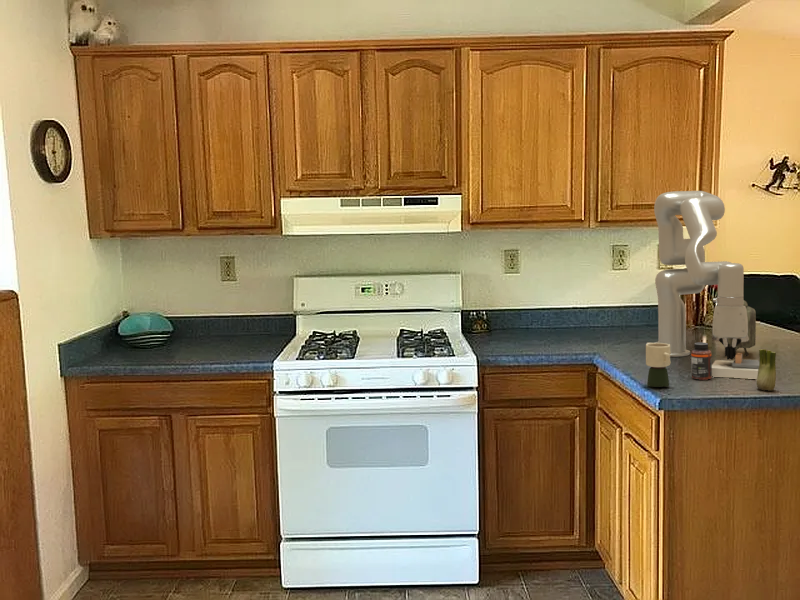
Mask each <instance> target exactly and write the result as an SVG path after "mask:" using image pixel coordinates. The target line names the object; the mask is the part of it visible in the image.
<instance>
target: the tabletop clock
mask: <svg viewBox="0 0 800 600" xmlns="http://www.w3.org/2000/svg"><path fill="white" fill-rule="evenodd" d="M743 306H745V307H746V311H747V318H748V338H749V340H748V341H746V342H740V343H739V344H738V345H737V346H736V352H737V351H738V349H743V350H744V352H743V353H744V354H743V355H744V356H745V357H749V355H750V353H749V352H748V351H747V349H750V348H753V347H755V346H756V344H757V343H756V342H757V341H756V338H757V336H756V334H757V333H756V331H757V329H756V328H757V325H756V324H757V321H756V319H757V316H756V314H757V313H756V310H755V308H753V307H751V306H749V305H748V302H747V301H746V300H744V299H743ZM738 339H739V338H738ZM728 341H729V344H730V346H731V345H732V341H733V338H728ZM733 359H735V357H734V358H733Z"/></svg>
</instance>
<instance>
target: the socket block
mask: <svg viewBox="0 0 800 600" xmlns="http://www.w3.org/2000/svg"><path fill="white" fill-rule="evenodd" d="M733 362H734V360H723V359H721V360H720V359H715V360H714V362H713V363H712V376H713V377H712V378H714V377H734V378H748V379H757V376H758V369H759V368H746V367H732V364H733Z"/></svg>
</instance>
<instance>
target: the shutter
mask: <svg viewBox="0 0 800 600" xmlns="http://www.w3.org/2000/svg"><path fill="white" fill-rule="evenodd" d="M733 361H734V362H733V364H732V367H746V368H759V360H757V359H743V352H736V355H735V358H734V360H733Z"/></svg>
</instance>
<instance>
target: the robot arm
mask: <svg viewBox="0 0 800 600" xmlns="http://www.w3.org/2000/svg"><path fill="white" fill-rule="evenodd" d="M653 208H654V209H653V211H654V216H655V219H656V224H657V227H658V255H659V256H658V257H659V261H660V263H661V264H662V265H665V266H685V268H669V269H664V270H663V269H662V270H661V271H659V272H657V274H656V276H655V279H654V281H655V289H656V294H657V296H656V297H657V313H658V314H657V315H658V317H657V318H658V323H657V324H658V325H657V326H658V327H657V328H658V329H657V330H658V340H657V341H656V342H655V343H665V344H670V351H671V353H670V358H671V357H672V358H673V357H677V358H678V357H686V356H691V351H690V349H687V345H686V344H687V343H686V342H687V341H686V339H687V337H686V336H687V335H686V334H687V333H686V328H687V326H686V325H687V324H686V323H687V322H686V319H687V317H686V315H687V314H686V311H687V310H686V305H685V303H684V301H683V299H682V298H681V295H691V294H692V295H693V294H695V295H696V294H700V293H701V292H702V291H703V290H704V289H705V287H706V286H711V285H712V286H713V285H714V286H716V285H717V296H716V297H713V298H712V303H716V304H717V305H716V306H714V310H713V317H712V337H711V339H712V340H713V341H716V342H719V343H720V344H722V345H723V347H724V357H726V359H727V361H734V360H733V359H735V358H734V357H735V355H736V354H737V351H736V346H737V345H738V344H739V343H740V342H746V341H748V340H749V338H748V318H747V311H746V307H745V306H743V300H744V283H745V282H744V280H745V279H744V275H745V274H744V272H745V271H744V266H743V264H741V263H738V262H737V263H736V262H731V261H725V260H724V261H706V256H705V255H706V254H705V248H704V247H705V246H706V245H708V244H710V243H711V242H713V241H714V240H715V239H716V238H717V236H718V232H717V229H716V227H715V224H714V222H713V221H718V220H721V219H722V218H723V217H724V216H725V215H724V214H725V212H726V208H725V203H724V202H723V200H722V198H720V197H719V196H718V195H715V194H713V193H710V192H706V191H703V190H681V191H680V190H677V191H676V190H675V191H667V192H663V193H661V194H659V195H658V196H657V198H656V199H655V201H654V207H653ZM678 216H681V217H682V220H683V223H684V225H685V228H686V230H687V234H688V236H689V238H684V227H683V224H682V222H681V220H680V219H679V218H678ZM728 338H733V341H732V345H731V346H730V344H729V341H728ZM738 338H739V339H738ZM650 343H653V342H646V344H650Z"/></svg>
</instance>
